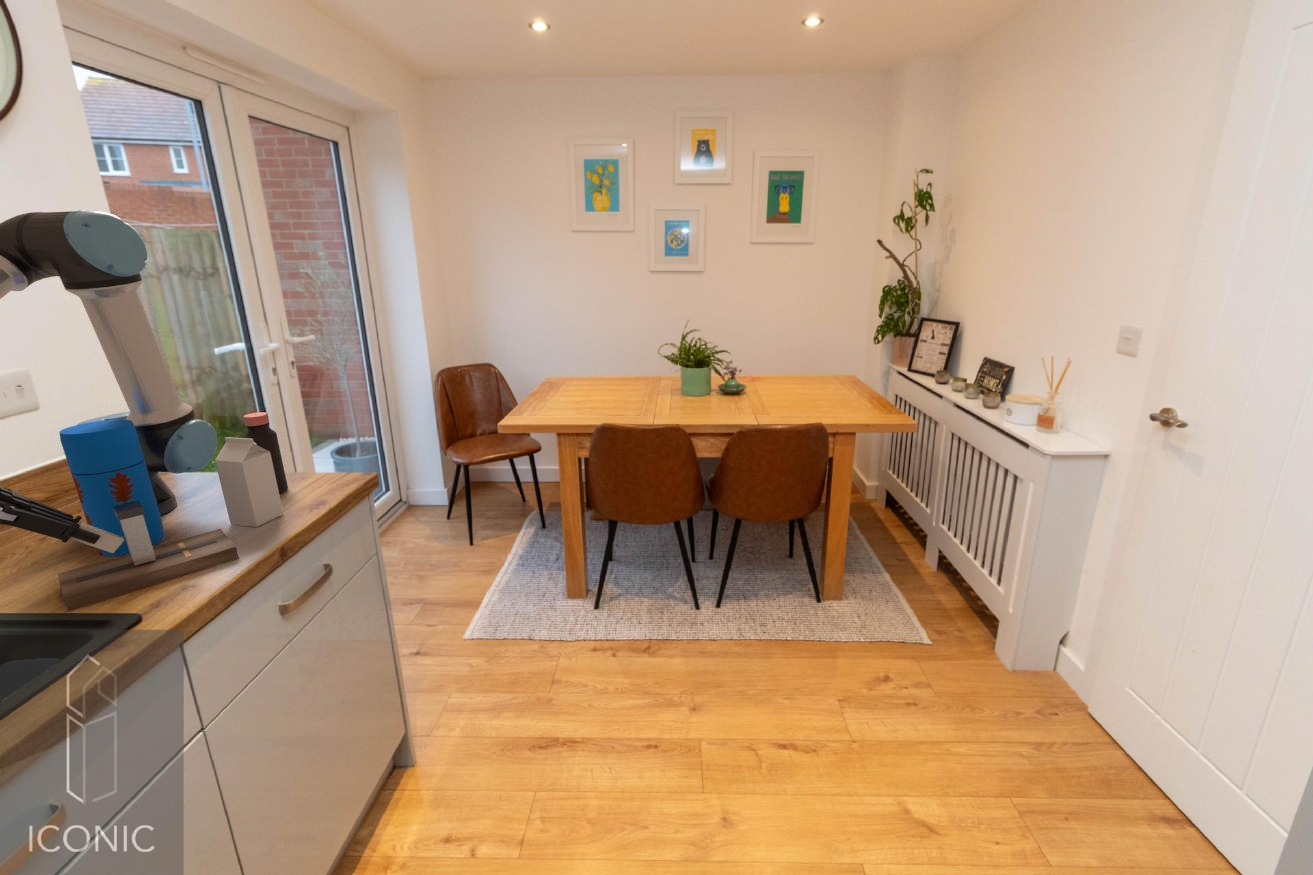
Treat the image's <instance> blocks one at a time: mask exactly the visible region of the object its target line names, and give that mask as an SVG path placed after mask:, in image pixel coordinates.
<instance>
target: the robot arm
mask: <svg viewBox="0 0 1313 875" xmlns="http://www.w3.org/2000/svg"><path fill="white" fill-rule="evenodd" d="M147 260H148V250H147V247H146V244H145V242H144V240H143V239H142V237H141V234H139V233H138V231H137V230H136V229H135V228H134V227H133V226H132V225H131V224H129V223H128V222H127V221H124V220H123V219H121V218H120V217H118V216H116V215H115V214H111V213H108V212H105V211H104V212H103V211H94V210H93V211H92V210H84V209H83V210H81V209H80V210H73V211H72V210H70V211H46V212H43V211H36V212H35V211H34V212H31V211H30V212H27V213H26V212H25V213H22V214H18V215H15V216H13V217H10V218H8V219H5V220H4V221H2V222H0V300H1V299H3V298H4V297H5V296H6V295H8V294H9V293H11V292H22V291H24V290H26V289H27V288H28V287H29V286H31V285H32V284H34V283H36V282H39V281H41V280H43V279H48V278H52V277H59V279H60V280H61V283H62V286H63V288H64V290H65V291H67V292H68V293H71V294H73V295H74V296H76V297H78V298H79V299H80V301H81V303H82V305H83V307H84V310H85V312H86V314H87V317H88V318H89V322H90V324H91V325H92V328H93V330H94V332H95V335H96V337H97V339H98V342H99V344H100V346H101V349H102V350H103V353H104V355H105V358H106V360H107V361H108V364H109V366H110V368H111V371H112V373H113V376H114V378H115V380H116V382H117V386H118V387H119V389H120V391H121V393H122V396H123V399H124V401H125V403H126V405H127V407H128V410H129V411H124V412H123V411H122V412H117V413H112V414H108V415H103V416H98V417H93V418H90V419H86V420H83V421H80V422H79V423H77V424H76V425H80V424H85V423H91V422H97V421H105V420H131V421H132V422H133V424H134V426H135V429H136V431H137V435H138V438H139V442H140V445H141V449H142V452H143V456H144V460H145V463H146V466H147V470H148V474H149V477H150V481H151V484H152V488H153V491H154V495H155V498H156V502H157V505H158V509H159V512H160V516H162V515H165V514H167V513H169V512H170V511H173V510H174V509H175V508H176V507H177V506H178V501H177V498H176V495H175V493H174V492H173V491H172V489H171V487H169V485H168V484H167V483H166V482H165V481H164V479H163V478H162V476H161V475H160V473H166V474H167V473H170V474H183V473H195V472H198V471H200V470H202V469H204V468H205V467H206V466H208V464H209V463H210V462H211V461H212V460H213V458H214V456H215V453H216V452H217V448H218V435H217V431H216V430H215V428H214V426H213V425H212V424H211V423H209V422H207V421H206V420H203V419H200V418H197V417H196V414H195V411H194V409H193V407H192V405H190V404H188V403H186V402H183V401H182V400H181V398H180V396H179V393H178V391H177V389H176V386H175V384H174V380H173V379H172V376H171V373H170V371H169V369H168V366H167V363H166V361H165V359H164V357H163V353H162V351H161V349H160V345H159V344H158V341H157V338H156V336H155V333H154V331H153V328H152V325H151V323H150V321H149V319H148V316H147V314H146V311H145V309H144V306H143V304H142V303H143V302H142V301H141V298H140V296H139V294H138V288H140V286H141V285H142V283H144V282H143V281H144V280H143V277H142V276H141V272H142V271H143V270H144V269H145V268H146V265H147V263H146V261H147ZM82 519H83V516H80V515H77V516H76V517H75V518H74V516H73V515H72V514H70V513H66V512H64V511H61V510H59V509H57V508H54V507H51V506H50V505H47V504H45V503H43V502H40V501H37V500H34V499H32V498H30V497H28V496H25V495H22V494H21V493H19V492H17V491H15V490H12V488H9V487H0V525H3V526H4V525H5V526H9V527H14V528H17V529H22V530H24V531H28V532H33V533H36V534H40V535H43V536H46V537H50V538H53V539H57V540H61V542H62V543H65V544H66V543H67V542H68V541H69V540H73V541H75V542H79V543H82V544H84V545H88V546H91V547H93V548H96V549H97V548H99V549H102V550H105V551H108V552H111V553H114V552H115V551H116V549H117V548H118V547H119V546H120V545H121V543H122V542H123V541H124V538H123V537H121V536H119V535H116V534H113V533H110V532H107V531H105V530H102V529H99V528H96V527H93V526H91V525H88V524H87V523H85V522H81V520H82Z"/></svg>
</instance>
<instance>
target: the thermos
mask: <svg viewBox="0 0 1313 875" xmlns="http://www.w3.org/2000/svg"><path fill="white" fill-rule="evenodd" d="M59 439H60V440H59V441H60V442H61V446H62V449H63V453H64V456H65V458H66V462H67V465H68V467H69V468H68V469H69V471H70V474H71V477H72V481H73V483H74V487H75V489H76V492H77V496H78V499H79V502H80V505H81V508H82V512H83V516H84V518H85V520H86V524H88V525H91V526H93V527H96V528H99V529H102V530H105V531H107V532H110V533H113V534H116V535H119V536H121V537H123V538H124V541H123V542H122V543H121V545H120V546H119V547H118V548H117V549H116V551H115V552H114V553H111V552H108V551H105V550H102V549H99V548H96V550H97V553H98V555H100V556H103V557H120V556H124V555H127V554H130V552H129V549H128V546H127V543H126V539H125V536H124V533H123V530H122V526H121V523H120V520H118V518H117V516H116V514H115V512H114V508H113V506H116V505H121V504H125V503H129V502H134V501H138V500H139V501H140V503H141V504H142V506H143V508H144V512H145V514H144V515H143V517H144V520H145V523H146V527H147V530H148V534H149V537H150V540H151V544H152V547H155V546H156V545H158V544H159V543H161V542H163V541H164V539H165V537H166V535H165V530H164V524H163V521H162V515H160V512H159V509H158V505H157V502H156V498H155V495H154V491H153V488H152V484H151V481H150V477H149V474H148V470H147V466H146V463H145V460H144V456H143V452H142V449H141V445H140V442H139V438H138V435H137V431H136V429H135V426H134V424H133V422H132V421H131V420H105V421H97V422H91V423H85V424H80V425H77V424H76V425H71V426H69V427H68V426H67V427H65V428H62V429H61V430H60V431H59Z"/></svg>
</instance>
